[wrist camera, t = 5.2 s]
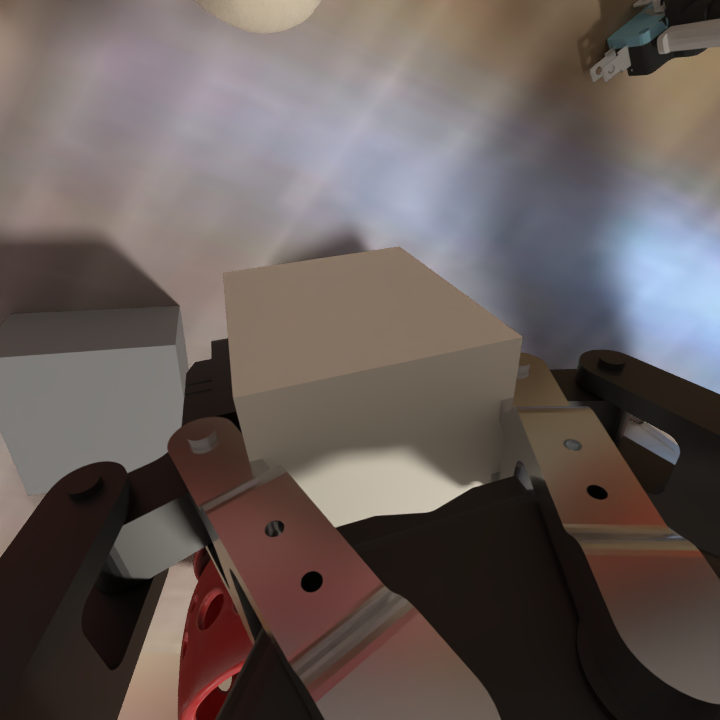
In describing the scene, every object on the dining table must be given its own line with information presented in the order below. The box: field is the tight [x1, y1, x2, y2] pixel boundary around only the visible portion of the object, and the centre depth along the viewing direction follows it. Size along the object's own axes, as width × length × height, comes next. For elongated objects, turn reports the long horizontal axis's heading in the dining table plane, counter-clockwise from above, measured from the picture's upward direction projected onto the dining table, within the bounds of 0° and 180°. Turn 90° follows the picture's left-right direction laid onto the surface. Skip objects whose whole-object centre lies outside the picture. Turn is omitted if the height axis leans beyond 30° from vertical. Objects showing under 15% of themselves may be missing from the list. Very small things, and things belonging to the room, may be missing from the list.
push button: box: [589, 0, 720, 82], centre depth 21 cm, size 7×5×10 cm
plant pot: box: [178, 547, 253, 720], centre depth 31 cm, size 13×13×12 cm
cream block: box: [223, 247, 523, 527], centre depth 11 cm, size 5×5×6 cm
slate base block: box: [0, 306, 189, 496], centre depth 23 cm, size 8×8×5 cm
